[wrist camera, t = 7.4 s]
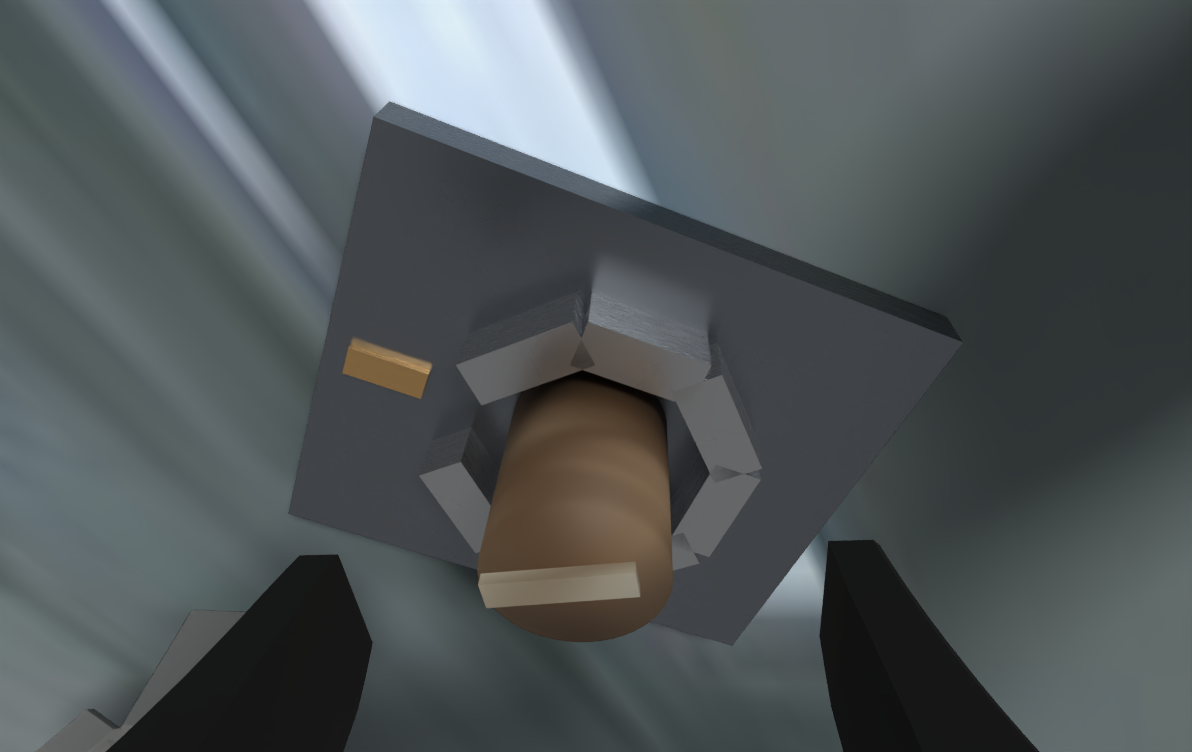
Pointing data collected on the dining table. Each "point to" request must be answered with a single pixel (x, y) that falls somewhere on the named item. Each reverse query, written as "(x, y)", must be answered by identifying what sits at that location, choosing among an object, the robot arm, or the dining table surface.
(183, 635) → the lighter
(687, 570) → the hub plate
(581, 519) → the knob
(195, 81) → the dining table surface
